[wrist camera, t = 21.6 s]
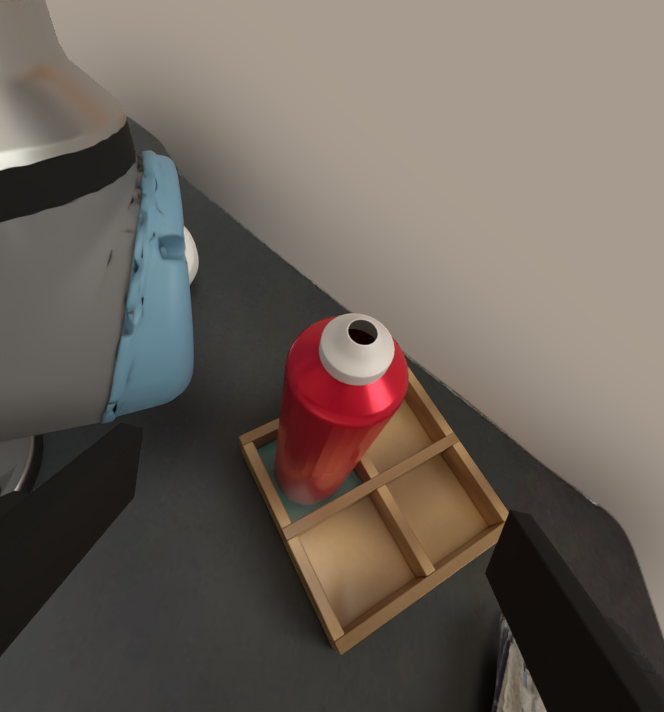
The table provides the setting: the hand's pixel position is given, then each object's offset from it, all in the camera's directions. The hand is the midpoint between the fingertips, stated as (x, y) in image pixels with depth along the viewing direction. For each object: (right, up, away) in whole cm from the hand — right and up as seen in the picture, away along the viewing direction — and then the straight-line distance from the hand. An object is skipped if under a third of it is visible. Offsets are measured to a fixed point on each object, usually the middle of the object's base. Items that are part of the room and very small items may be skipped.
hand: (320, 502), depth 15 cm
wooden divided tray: (+3, -6, +19) cm, 20 cm away
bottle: (-1, -4, +18) cm, 19 cm away
